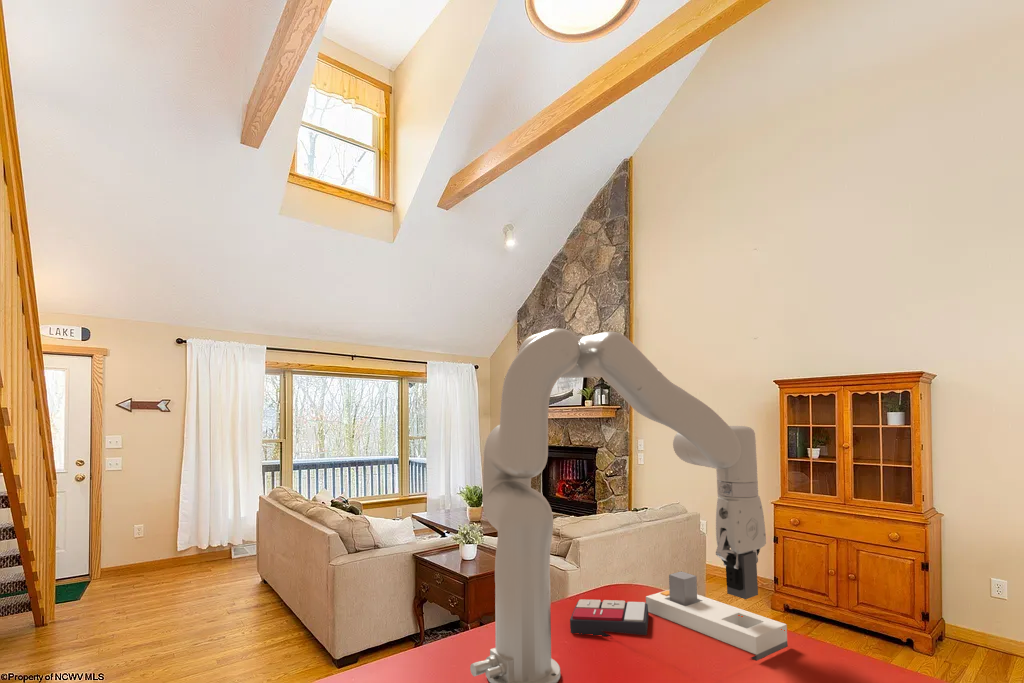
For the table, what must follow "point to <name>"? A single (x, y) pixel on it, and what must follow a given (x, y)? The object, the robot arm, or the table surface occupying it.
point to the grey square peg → (683, 588)
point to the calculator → (609, 617)
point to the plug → (747, 576)
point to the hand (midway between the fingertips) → (742, 584)
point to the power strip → (723, 623)
